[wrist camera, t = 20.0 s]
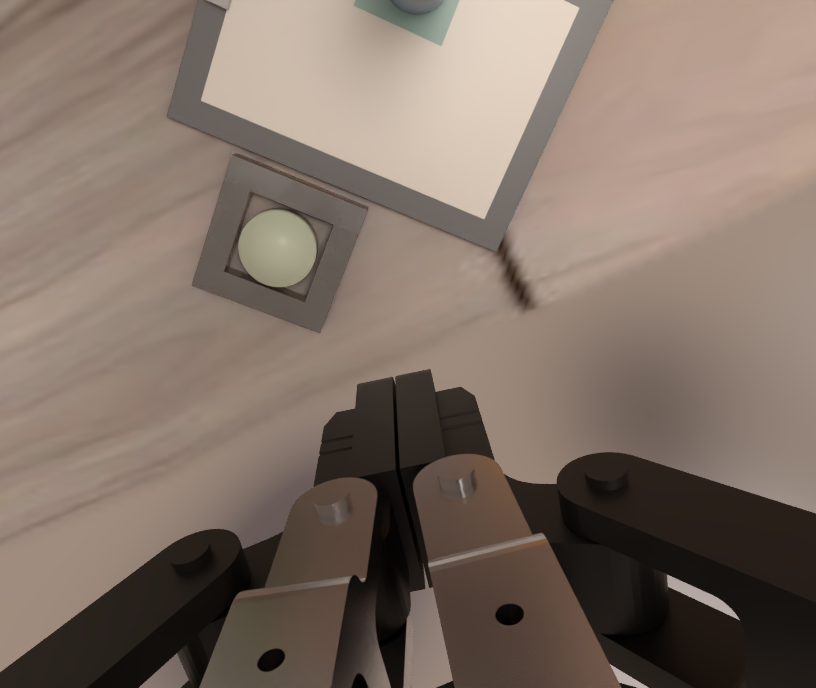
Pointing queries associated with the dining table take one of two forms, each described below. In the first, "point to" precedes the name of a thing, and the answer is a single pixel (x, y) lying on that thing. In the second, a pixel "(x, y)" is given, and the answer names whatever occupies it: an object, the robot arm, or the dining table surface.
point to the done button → (278, 247)
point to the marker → (417, 5)
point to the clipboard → (392, 95)
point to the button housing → (297, 195)
